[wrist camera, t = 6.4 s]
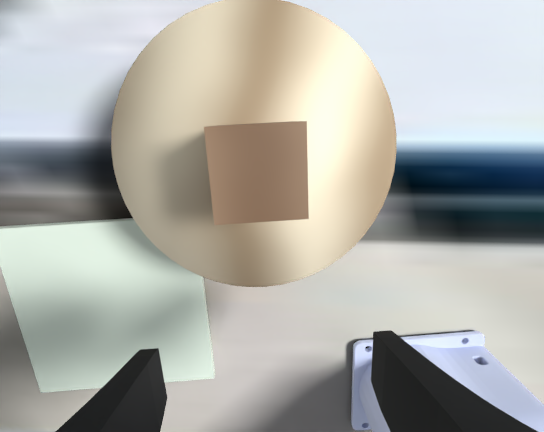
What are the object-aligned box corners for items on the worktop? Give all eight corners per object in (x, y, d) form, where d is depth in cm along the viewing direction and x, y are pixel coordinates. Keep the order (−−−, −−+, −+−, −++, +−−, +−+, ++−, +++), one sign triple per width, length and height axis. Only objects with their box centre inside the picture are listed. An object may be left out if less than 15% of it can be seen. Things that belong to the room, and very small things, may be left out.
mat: (195, 214, 20) (193, 216, 19) (215, 373, 23) (214, 378, 23) (-5, 226, 19) (-12, 229, 19) (45, 387, 23) (40, 392, 22)
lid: (394, 0, 13) (476, -70, 8) (381, 268, 16) (433, 328, 12) (94, 12, 13) (-3, -55, 8) (145, 285, 16) (98, 355, 11)
